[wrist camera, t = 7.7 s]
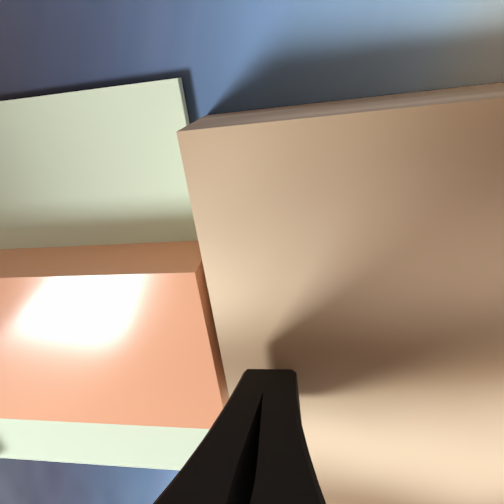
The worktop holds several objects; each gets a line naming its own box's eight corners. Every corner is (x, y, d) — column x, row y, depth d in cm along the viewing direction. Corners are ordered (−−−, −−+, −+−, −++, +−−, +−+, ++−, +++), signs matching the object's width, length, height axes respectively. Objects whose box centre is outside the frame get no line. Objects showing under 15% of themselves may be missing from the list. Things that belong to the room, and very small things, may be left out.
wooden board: (579, 473, 14) (625, 549, 12) (261, 454, 17) (253, 516, 14) (744, 55, 8) (900, 56, 6) (205, 114, 10) (176, 131, 8)
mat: (253, 469, 17) (246, 511, 16) (-15, 451, 20) (-44, 485, 18) (180, 77, 10) (156, 81, 9) (-220, 130, 13) (-295, 140, 11)
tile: (238, 384, 14) (227, 429, 13) (29, 378, 16) (-6, 417, 14) (213, 239, 12) (194, 272, 10) (-34, 250, 14) (-86, 280, 12)
